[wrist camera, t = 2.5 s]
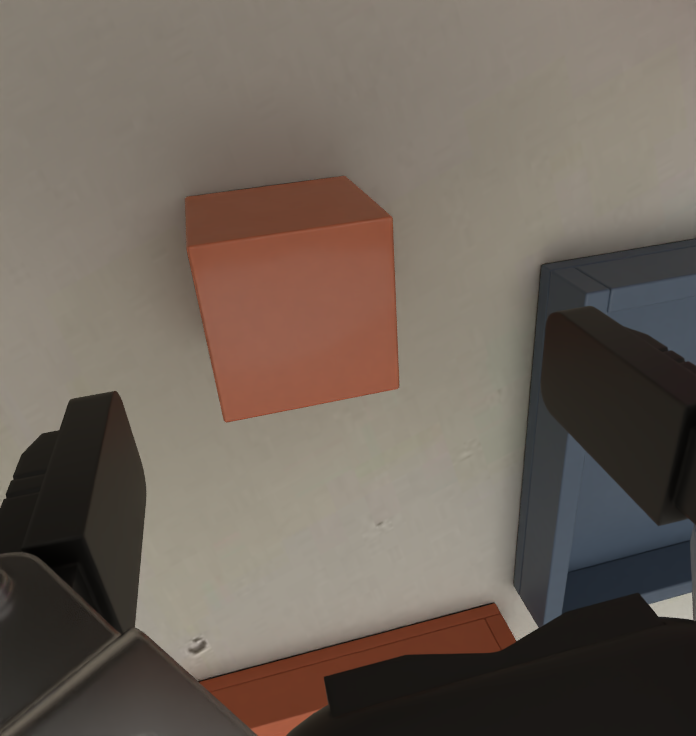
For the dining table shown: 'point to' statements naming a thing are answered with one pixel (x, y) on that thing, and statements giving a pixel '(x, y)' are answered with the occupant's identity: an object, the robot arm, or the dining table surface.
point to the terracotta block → (294, 294)
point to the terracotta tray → (347, 667)
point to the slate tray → (579, 470)
